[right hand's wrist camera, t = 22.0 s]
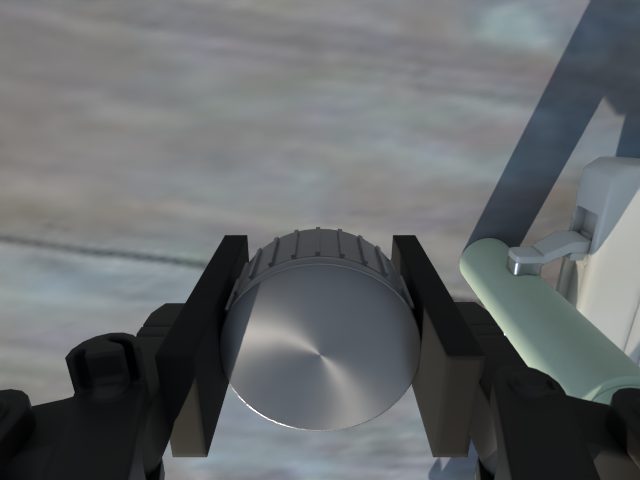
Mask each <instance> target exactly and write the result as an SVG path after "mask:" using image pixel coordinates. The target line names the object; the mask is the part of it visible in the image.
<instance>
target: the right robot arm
mask: <svg viewBox="0 0 640 480" xmlns="http://www.w3.org/2000/svg"><path fill="white" fill-rule="evenodd" d="M391 259H392V260H393V261H394V264H395V266H396V269H397V271H398V274H399V276H401V275H402V277H403V279H404V282H405V284H406V287H407V289H408V291H409V294H410V296H411V299H412V301H413V304H414V306H415V309H413V313H414V315H415V318H416V321H417V324H418V327H419V330H420V336H421V354H420V363H419V366H418V370H417V373H416V375H415V377H414V379H413V381H412V387H413V390H414V393H415V397H416V400H417V404H418V407H419V410H420V414H421V417H422V421H423V424H424V427H425V431H426V434H427V438H428V441H429V444H430V448H431V451H432V455H433V457H467V456H468V451H469V445H470V440H471V439H472V441H473V444H474V446H475V449H476V451H477V453H478V460H477V465H476V470H475V475H474V480H640V389H638V388H631V387H630V388H623V389H619V390H617V391H616V392H615V393H614V394H613V395H612V398H611V401H610V404H609V405H608V404H603V403H598V402H594V401H589V400H585V399H580V398H576V397H573V396H569V395H566V393H565V391H564V389H563V388H562V387H561V385H560V384H559V383H558V382H557V381H556V380H555V379H553V378H552V377H551V376H550V375H548V374H546V373H544V372H542V371H540V370H538V369H535V368H531V367H528V366H527V365H526V363H525V362H524V360H523V359H522V358H521V356H520V355H519V353H518V352H517V351H516V349H515V348H514V346H513V345H512V344H511V342H510V341H509V339H508V338H507V336H506V335H504V332H503V331H502V329H501V328H500V327H499V326H497V322H496V321H495V320H494V318H493V317H492V315H491V314H490V312H488V311H487V310H486V309H484V308H483V307H481V306H480V305H478V304H477V303H475V302H454V301H453V299H452V298H451V296H450V294H449V292H448V291H447V289H446V287H445V286H444V284H443V282H442V280H441V279H440V277H439V275H438V274H437V272H436V270H435V268H434V267H433V265H432V263H431V262H430V260H429V258H428V257H427V255H426V253H425V251H424V250H423V248H422V246H421V245H420V243H419V241H418V239H417V238H416V236H415V235H393V243H392V258H391ZM246 262H247V263H249V254H248V240H247V235H225V237H224V238H223V240H222V242H221V243H220V245H219V247H218V248H217V250H216V252H215V254H214V255H213V257H212V259H211V260H210V262H209V264H208V266H207V267H206V269H205V271H204V272H203V274H202V276H201V278H200V279H199V281H198V283H197V284H196V286H195V288H194V289H193V291H192V293H191V295H190V296H189V298H188V300H187V301H186V303H166V304H164V305H163V306H161V307H160V308H158V309H157V310H155V311H154V312H152V313H151V314H150V316H149V317H148V319H147V320H146V322H145V323H144V324H143V327H141V329H140V330H139V332H138V333H137V336H136V337H135V336H134V335H131V334H127V333H108V334H104V335H100V336H96V337H93V338H91V339H89V340H86V341H84V342H82V343H81V344H79V345H78V346H76V347H75V348H73V349H72V350H71V351H70V353H69V354H68V355H67V356H66V358H65V359H66V363H67V366H68V370H69V373H70V377H71V380H72V384H73V388H74V391H75V393H74V396H73V397H70V398H67V399H63V400H59V401H54V402H50V403H45V404H41V405H36V406H31V403H30V400H29V397H28V395H26V394H25V393H24V392H23V391H20V390H13V389H8V390H1V391H0V480H164V477H165V472H164V465H163V460H162V456H163V454H164V451H165V449H166V447H167V444H168V442H169V439H170V444H171V449H172V455H173V457H207V455H208V452H209V449H210V445H211V442H212V439H213V435H214V432H215V428H216V425H217V422H218V418H219V415H220V411H221V408H222V405H223V401H224V398H225V394H226V391H227V388H228V384H229V382H228V381H227V379H226V377H225V374H224V371H223V369H222V366H221V360H220V351H219V338H220V332H221V328H222V324H223V321H224V319H225V316H226V314H227V313H224V310H225V307H226V305H227V302H228V300H229V297H230V295H231V292H232V290H233V287H234V285H235V282H236V280H237V279H239V277H240V275H241V272H242V270H243V267H244V265H245V263H246Z"/></svg>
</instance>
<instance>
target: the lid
mask: <svg viewBox="0 0 640 480" xmlns="http://www.w3.org/2000/svg"><path fill="white" fill-rule="evenodd" d="M413 309H415V306H414V304H413V301H412V299H411V296H410V294H409V291H408V289H407V287H406V284H405V282H404V279H403V277H402V275H401V276H399V274H398V271H397V269H396V266H395V264H394V261H393V260H392V259H391V260H389V259H388V258H387V257H386V256H385V255H384V254H383V253H382V252H381V249H380V247H379V246H376V247H375V246H374V245H372V244H371V243H369V242H367V241H366V240H364V239H363V238H362V236H360V235H359V236H358V237H357V236H355V235H353V234H349V233H346V232H342V229H338V231H337V230H331V229H320V227H316V229H311V230H303V231H298V230H295V231H294V233H291V234H288V235H285V236H283V237H281V238H278V237H276V238H275V239H274V241H273V242H271V243H270V244H268V245H267V246H265V247H264V248H263V249H261V248H259V249H258V250H257V253H256V255H255V256H254V257H253V259H252V260H251V261H250V262H249V263H247V262H246V263H245V265H244V267H243V270H242V272H241V275H240V277H239V279H237V280H236V282H235V285H234V287H233V290H232V292H231V295H230V297H229V300H228V302H227V305H226V307H225V310H224V313H227V314H226V316H225V319H224V321H223V324H222V328H221V332H220V338H219V351H220V360H221V366H222V369H223V371H224V374H225V377H226V379H227V381H228V382H229V384H230V386H231V388H232V389H233V390H234V392H235V393H236V394H237V395H238V397H239V398H240V399H241V400H242V401H243V402H244V403H245V404H246V405H248V406H249V407H250V408H251V409H253V410H254V411H255V412H257V413H259V414H260V415H262V416H263V417H265V418H267V419H269V420H271V421H274V422H276V423H279V424H281V425H284V426H287V427H292V428H296V429H302V430H309V431H330V430H339V429H345V428H349V427H353V426H356V425H359V424H362V423H364V422H367V421H369V420H371V419H373V418H375V417H377V416H379V415H380V414H382V413H383V412H385V411H386V410H388V409H389V408H390V407H392V406H393V405H394V404H395V403H396V402H397V401H398V400H399V399H400V398H401V397H402V396H403V395H404V394H405V392H406V391H407V389H408V388H409V386H410V385H411V383H412V381H413V379H414V377H415V375H416V373H417V370H418V366H419V363H420V354H421V336H420V330H419V327H418V324H417V321H416V318H415V315H414V313H413Z"/></svg>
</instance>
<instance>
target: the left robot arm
mask: <svg viewBox="0 0 640 480" xmlns="http://www.w3.org/2000/svg"><path fill="white" fill-rule="evenodd" d="M562 256H563V260H562V265H561V269H560V274H559V278H558V283H557V288H556V291H557V292H558V293H560V294H561V295H562V296H563V297H564V298H565V299H566V300H567V301H568V302H569V303H570V304H572V305H573V306H574V307H575V308H576V309H577V310H578V311H579V312H580V313H581V314H582V315H584V316H585V317H586V318H587V319H588V320H589V321H590V322H591V323H592V324H593V325H594V326H596V327H597V328H598V329H599V330H600V331H601V332H602V333H603V334H604V335H605V336H606V337H608V338H609V339H610V340H611V341H612V342H613V343H614V344H615V345H616V346H617V347H618V348H620V349H621V350H622V351H623V352H624V353H625V354H626V355H627V356H628V357H629V358H630V359H632V360H633V361H634V362H635V363H636V364H637V365H638V366H639V367H640V158H630V157H611V156H604V157H599V158H597V159H596V160H594V161H593V162H591V163H590V164H588V165H587V166H586V167H584V169H583V171H582V174H581V178H580V183H579V188H578V192H577V197H576V201H575V206H574V210H573V215H572V219H571V224H570V228H569V231H556V232H554V233H553V234H551V235H549V236H547V237H545V238H544V239H542V240H540V241H538V242H536V243H535V244H533V245H532V247H511V248H509V253H508V259H507V265H506V267H507V268H508V269H510V271H511V273H513V274H515V275H518V276H523V275H526V274H529V275H540V272H541V268H542V265H544V264H546V263H549V262H551V261H553V260H555V259H558V258H560V257H562ZM497 326H499V325H498V324H497ZM499 327H500V326H499ZM504 335H505V333H504ZM509 341H510V340H509ZM511 344H512V343H511Z"/></svg>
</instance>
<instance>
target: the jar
mask: <svg viewBox="0 0 640 480" xmlns="http://www.w3.org/2000/svg"><path fill="white" fill-rule="evenodd" d="M508 253H509V247H508V246H507V245H506V244H505V243H504V242H502V241H501V240H498V239H495V238H484V239H480V240H477V241H475V242H473V243H472V244H470V245H469V246H468V247H467V248H466V249H465V251H464V252H463V254H462V256H461V259H460V270H461V273H462V275H463V276H464V277H465V279H466V280H467V282H468V283H469V284H470V286H471V287H472V289H473V290H474V291H475V293H476V294H477V296H478V297H479V298H480V300H481V301H482V303H483V304H484V305H485V307H486V308H487V310H488V311H489V312H490V314H491V315H492V317H493V318H494V319H495V321H496V322H497V324H498V325H499V326H500V328H501V329H502V331H503V332H504V333H505V335H506V336H507V338H508V339H509V340H510V342H511V343H512V345H513V346H514V347H515V349H516V350H517V352H518V353H519V354H520V356H521V357H522V359H523V360H524V361H525V363H526V364H527V366H528V367H531V368H535V369H538V370H540V371H542V372H544V373H546V374H548V375H550V376H551V377H552V378H553V379H555V380H556V381H557V382H558V383H559V384H560V385H561V387H562V388H563V389H564V391H565V393H566V395H569V396H573V397H576V398H580V399H585V400H589V401H594V402H598V403H603V404H608V405H609V404H610V401H611V398H612V395H613V394H614V393H615V392H616V391H617V390H619V389H623V388H630V387H631V388H638V389H640V367H639V366H638V365H637V364H636V363H635V362H634V361H633V360H632V359H630V358H629V357H628V356H627V355H626V354H625V353H624V352H623V351H622V350H621V349H620V348H618V347H617V346H616V345H615V344H614V343H613V342H612V341H611V340H610V339H609V338H608V337H606V336H605V335H604V334H603V333H602V332H601V331H600V330H599V329H598V328H597V327H596V326H594V325H593V324H592V323H591V322H590V321H589V320H588V319H587V318H586V317H585V316H584V315H582V314H581V313H580V312H579V311H578V310H577V309H576V308H575V307H574V306H573V305H572V304H570V303H569V302H568V301H567V300H566V299H565V298H564V297H563V296H562V295H561V294H560V293H558V292H557V291H556V290H555V289H554V288H553V287H552V286H551V285H550V284H549V283H548V282H546V281H545V280H544V279H543V278H542V277H541V276H540V275H529V274H526V275H523V276H518V275H515V274H513V273H511V271H510V269H508V268H507V267H506V265H507V259H508Z"/></svg>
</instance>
